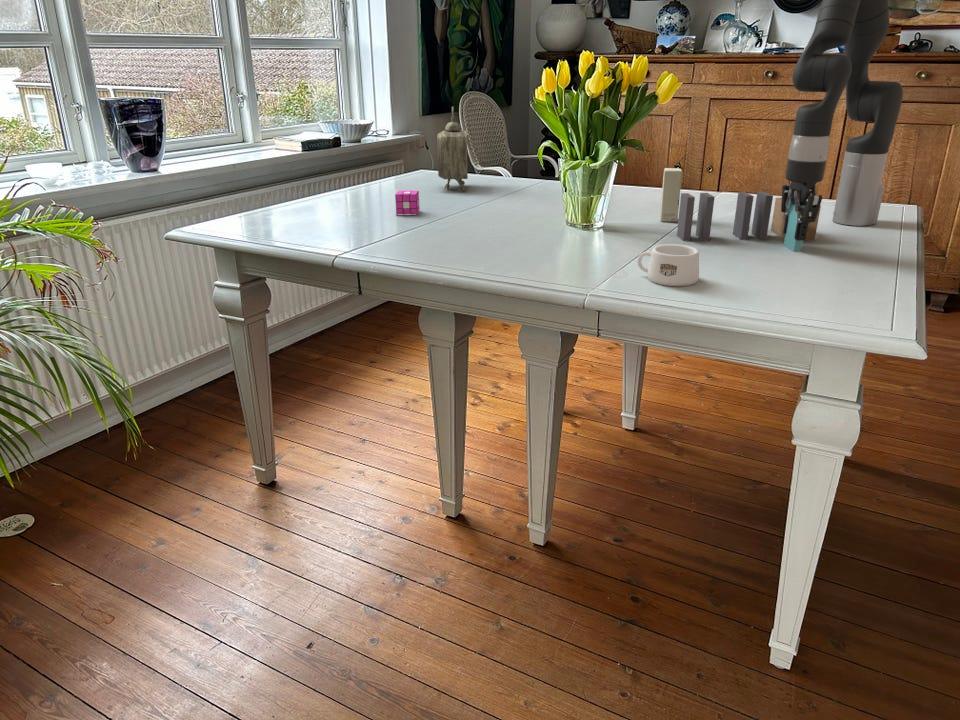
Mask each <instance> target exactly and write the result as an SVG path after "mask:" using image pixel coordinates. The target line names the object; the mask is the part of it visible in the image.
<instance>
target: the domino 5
mask: <svg viewBox="0 0 960 720" xmlns="http://www.w3.org/2000/svg"><path fill="white" fill-rule="evenodd" d="M791 205H792V202H791ZM805 206H806V205H801V206H800V207H801V208H805ZM803 213H804V212H802V216H803ZM797 223H798V222H797V212H795V205H792V206H791V209H790V212H789V217H788V224H787V230H786V235H785V239H784V240H783V241H784V243H783V246H784V247H785V246H786V248H787V249H788V250H791V251H792V250H793V251H792V252H801V251H802V247H803V242H804V241H803V240H795V238H794V237H795V231H796V225H797Z"/></svg>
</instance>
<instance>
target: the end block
mask: <svg viewBox="0 0 960 720" xmlns="http://www.w3.org/2000/svg"><path fill="white" fill-rule="evenodd" d="M781 204H782V197H775V201H774V207H773V213H772V220H771V225H770V232H771V233H774V234H775V235H777V236H779V237H780V238H783V239H784V240H785V235H786V234H784V233H783V231H784V225H785V219H786V217H785V216H784V212H781ZM821 207H822V206H821V205H820V207H819V211H818V214H817V217H816V220H815V222H810V223H809V224H808V229H807V234H806V239H805V240H816V234H817V229H818V223H819V219H820V213H821ZM812 213H813V212H811V216H812ZM805 240H803V242H805Z"/></svg>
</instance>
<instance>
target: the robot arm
mask: <svg viewBox="0 0 960 720" xmlns="http://www.w3.org/2000/svg"><path fill="white" fill-rule="evenodd" d="M889 6H890V5H889V0H822V1H821V4H820V7H819V10H818V13H817V16H816V17H817V18H816V22H815V25H814V29H813V32H812V35H811V37H810V38H809V41H808V43H807V45H806V46H805V48H804V50H803V51H802V54H801V55H800V57H799V59H798V60H797V62H796V64H795V66H794V68H793V72H792V84H793V86H794V88H795V89H796V91H799V92H802V93H803V92H804V93H825V96H824V98H823V99H821V101H819V102H815V103H808V104H803V105H800V106H799V107H798V109H797V111H796V115H795V120H794V125H793V126H794V128H793V133H792V137H791V141H790V145H789V150H788V157H787V162H786V171H785V175H784V177H785V180H786V181H789V182H790V184H783V185H782V187H781V198H782V204H781V212H784V216H785V217H786V219H785V225H784V231H783V233H784V234H786V230H787V224H788V217H789V212H790V209H791V206H792V205H795V212H797V222H798V223H797V225H796V231H795V237H794V238H795V240H805V239H806V234H807V229H808V224H809V223H810V222H815V220H816V217H817V214H818V211H819V207H820V206H821V203H822V200H823V195H821V194H816V191H817V190H816V184H817V183H820V182H822V181H824V176H825V171H826V166H827V160H828V153H829V149H830V136H831V131H832V125H833V119H834V115H835V112H836V108H837V106H838V103H839V101H840V99H841V96H842V95H843V92H844V90H845V104H846V105H845V107H846V113H847V116H848V118H849V119H850V120H852V121H855V122H859V123H860V122H861V123H873V126H872V128H871V130H869V131H868V132H867V133H864V134H862V135H858V136H855V137H852V138H849V139H848V140H847V142H846V145H845V152H844V157H843V162H842V168H841V171H840V172H841V173H840V178H839V179H840V180H839V183H838V189H837V195H836V199H835V204H834V211H833V213H832V221H833V222H834V223H837V224H840V225H846V226H856V227H857V226H860V227H863V226H871V225H877V223H878V218H879V215H880V214H879V213H880V209H881V204H882V200H883V197H884V196H883V195H884V191H885V185H884V184H882V182H883V178H884V172H885V169H886V162H887V158H888V154H889V150H890V145H891V144H892V140H893V137H894V133H895V129H896V127H897V126H896V125H897V122H898V117H899V114H900V110H901V107H902V103H903V97H904V95H903V94H904V90H903V86H902V84H901V83H900V82H898V81H891V80H890V81H889V80H887V81H885V80H870V77H869V66H870V62H871V60H872V58H873V57H874V55H875V53H876V52H877V51H878V49H879V48H880V46H881V44H882V43H883V41H884V39H885V37H886V36H887V33H888V31H889V28H890V8H889ZM841 47H843V48H844V50H843V51H844V54H824V53H825V52H827V51H830V50H833V49H837V48H841ZM791 202H792V205H791ZM801 205H806V206H805V208H801V207H800V206H801ZM802 212H804V213H803V216H802ZM811 212H813V213H812V216H811Z"/></svg>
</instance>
